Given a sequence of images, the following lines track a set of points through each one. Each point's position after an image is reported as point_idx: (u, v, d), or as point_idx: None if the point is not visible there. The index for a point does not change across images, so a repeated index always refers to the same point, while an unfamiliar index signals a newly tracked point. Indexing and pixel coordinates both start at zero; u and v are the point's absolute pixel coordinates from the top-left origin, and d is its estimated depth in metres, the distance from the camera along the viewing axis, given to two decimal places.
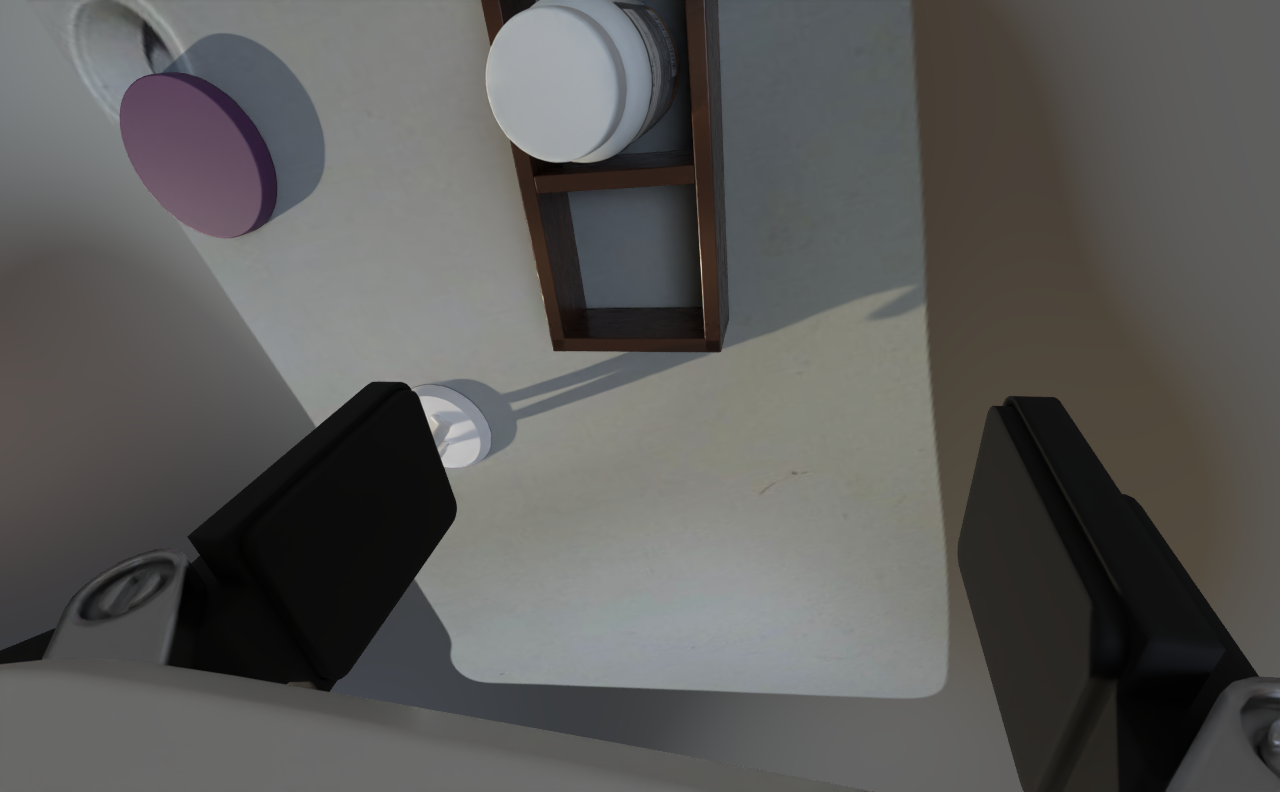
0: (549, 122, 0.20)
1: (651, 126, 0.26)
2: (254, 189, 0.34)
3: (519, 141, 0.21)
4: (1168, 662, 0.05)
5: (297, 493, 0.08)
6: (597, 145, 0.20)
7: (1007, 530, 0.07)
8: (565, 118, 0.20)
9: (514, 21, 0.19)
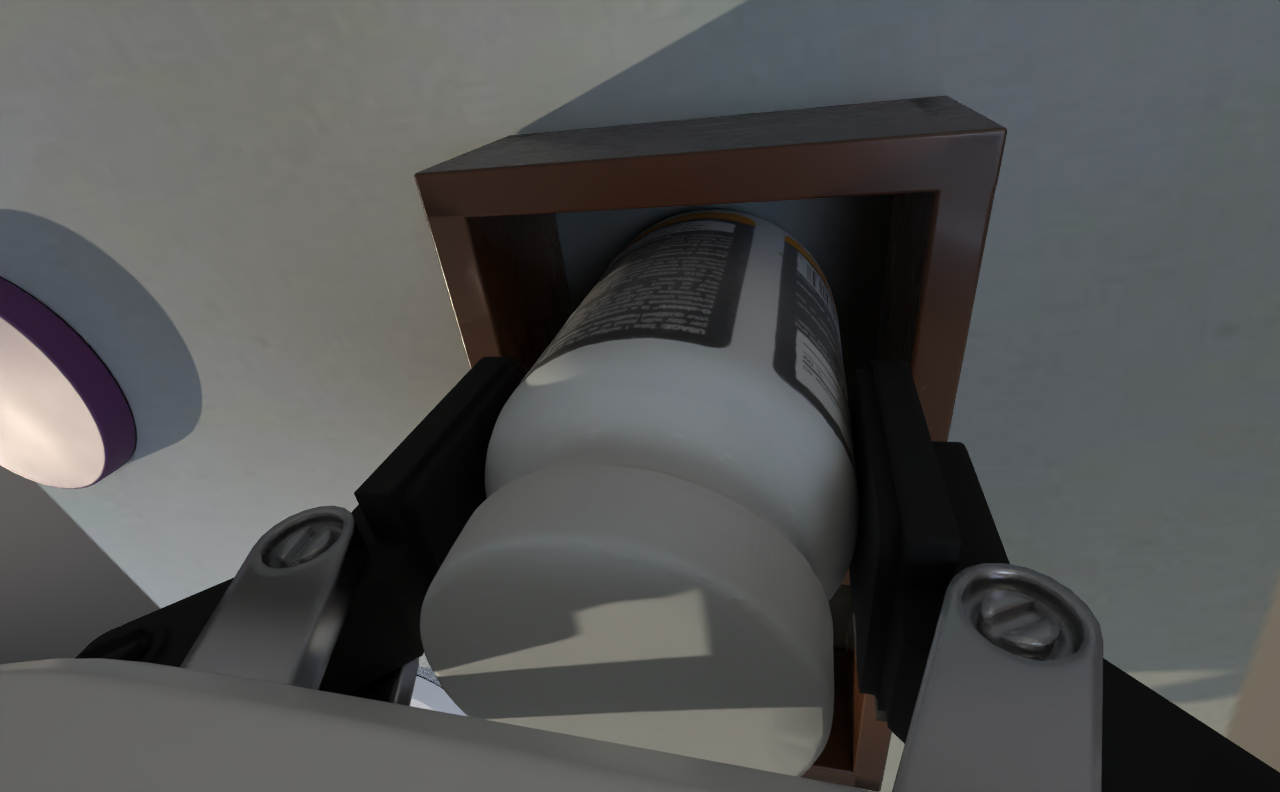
0: (603, 740, 0.07)
1: None
2: (91, 437, 0.21)
3: None
4: (924, 554, 0.06)
5: (443, 456, 0.08)
6: None
7: (858, 473, 0.08)
8: (655, 746, 0.07)
9: (502, 555, 0.06)
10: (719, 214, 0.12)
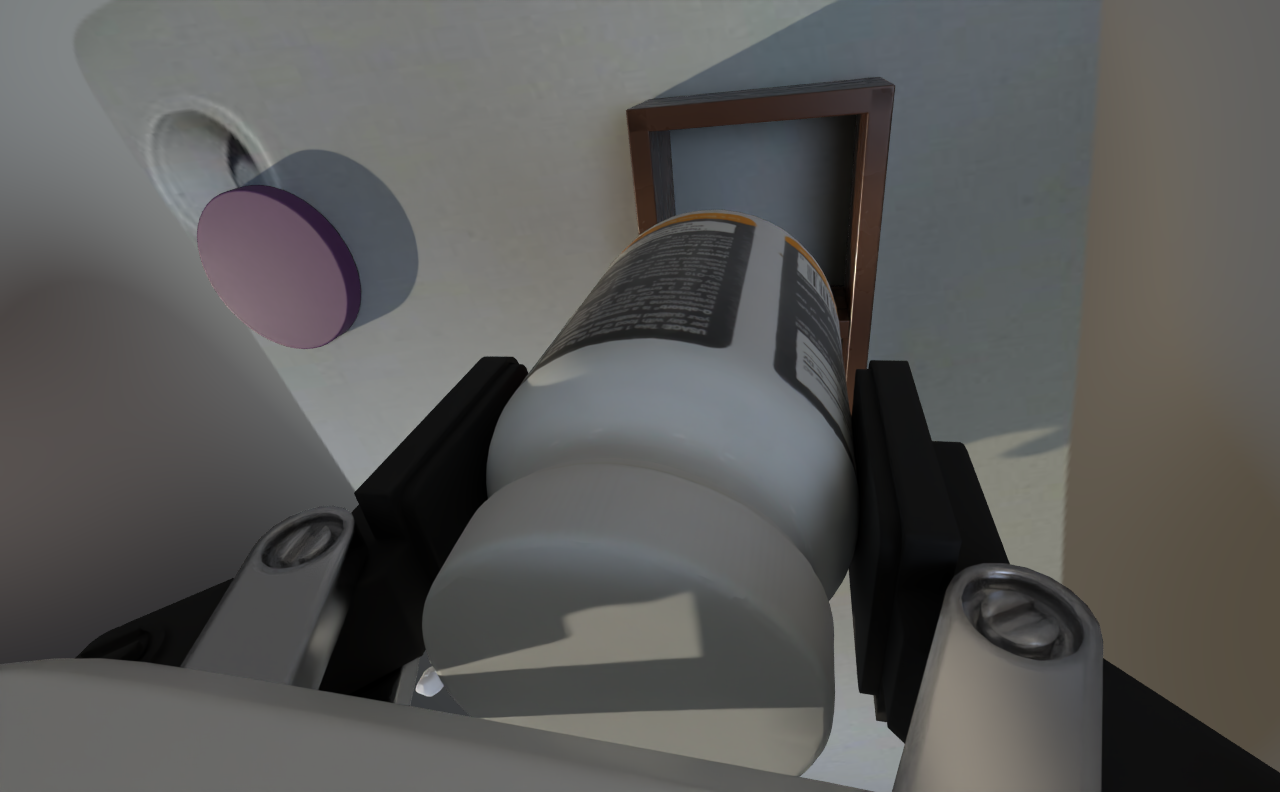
0: (605, 739, 0.07)
1: None
2: (339, 304, 0.32)
3: None
4: (924, 554, 0.06)
5: (442, 455, 0.08)
6: None
7: (858, 473, 0.08)
8: (656, 744, 0.07)
9: (504, 554, 0.06)
10: (720, 214, 0.12)
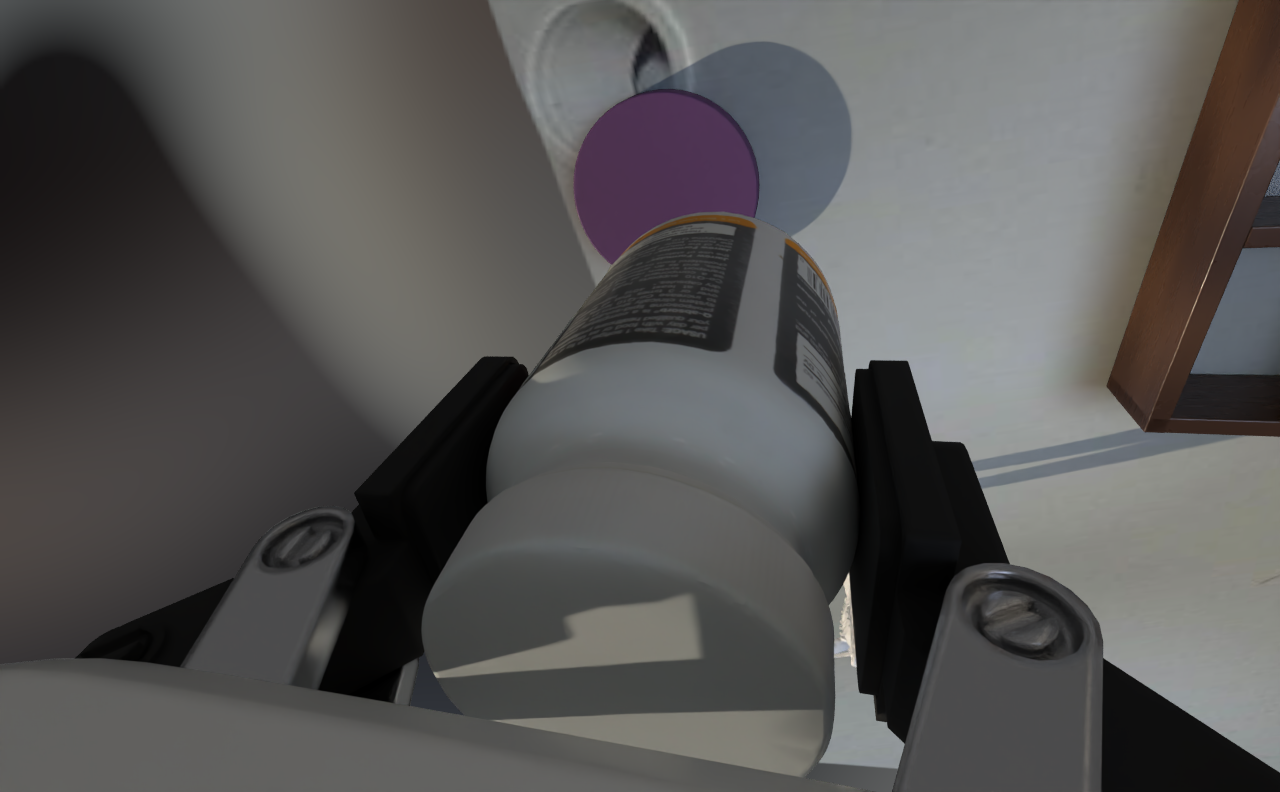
0: None
1: None
2: None
3: None
4: (924, 554, 0.06)
5: (443, 456, 0.08)
6: None
7: (858, 473, 0.08)
8: (656, 749, 0.07)
9: (504, 560, 0.06)
10: (719, 216, 0.12)
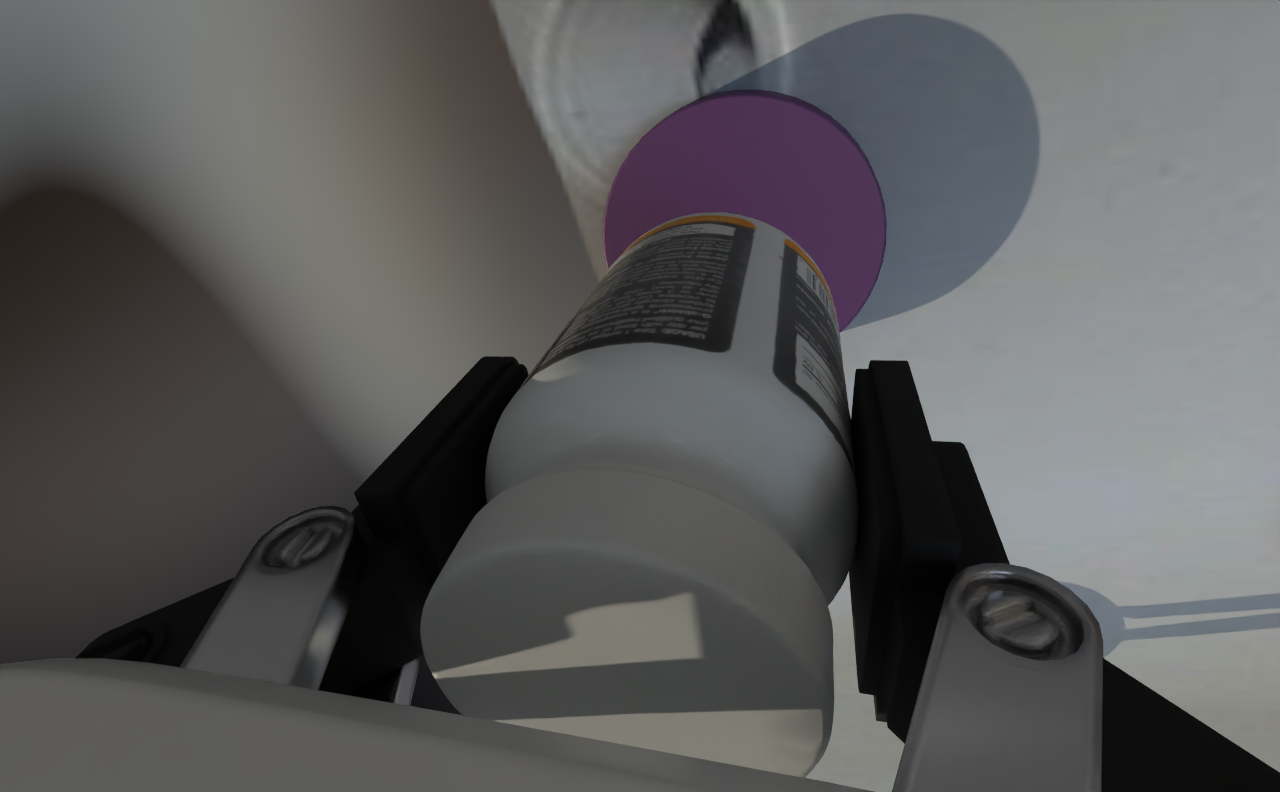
0: None
1: None
2: (850, 299, 0.19)
3: None
4: (924, 554, 0.06)
5: (442, 456, 0.08)
6: None
7: (858, 472, 0.08)
8: None
9: (503, 561, 0.06)
10: (719, 217, 0.12)
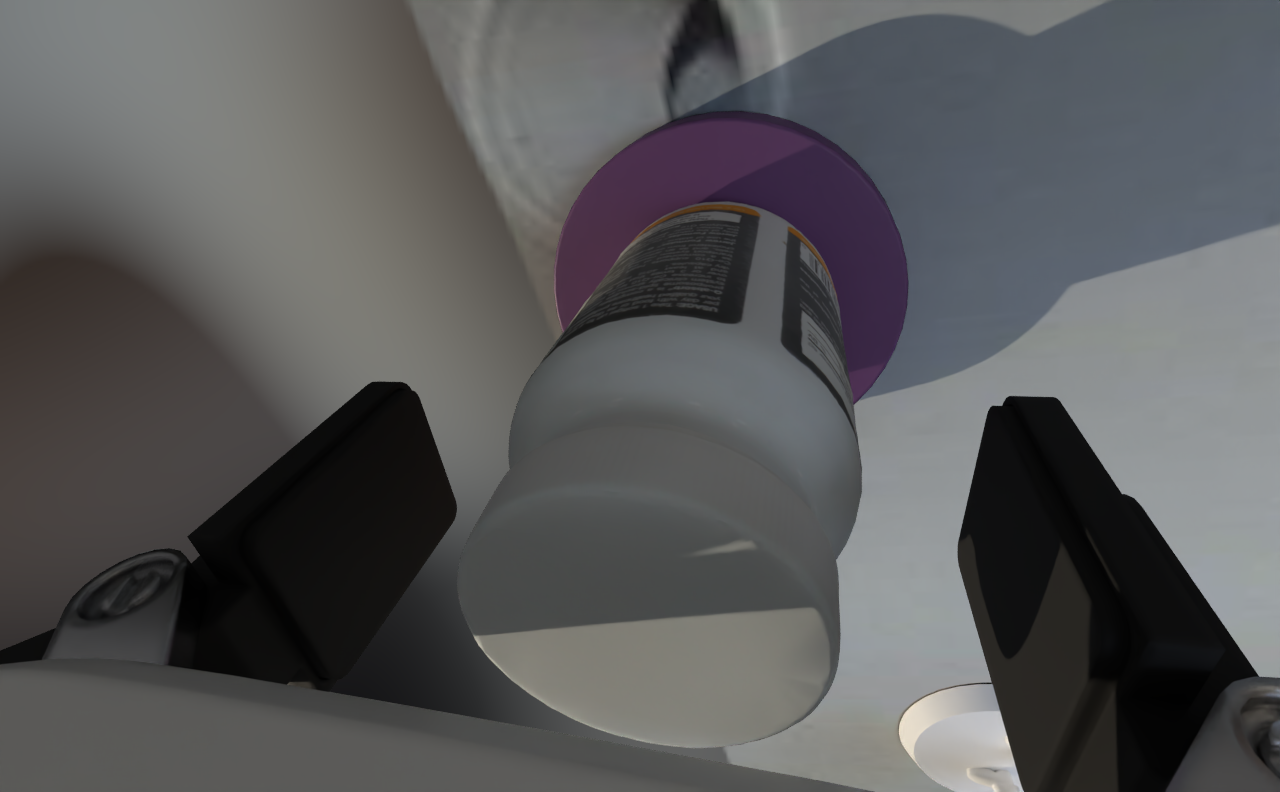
0: (626, 686, 0.08)
1: None
2: (861, 370, 0.15)
3: (545, 698, 0.08)
4: (1168, 662, 0.05)
5: (297, 493, 0.08)
6: None
7: (1007, 530, 0.07)
8: (674, 690, 0.07)
9: (538, 505, 0.06)
10: (725, 206, 0.13)
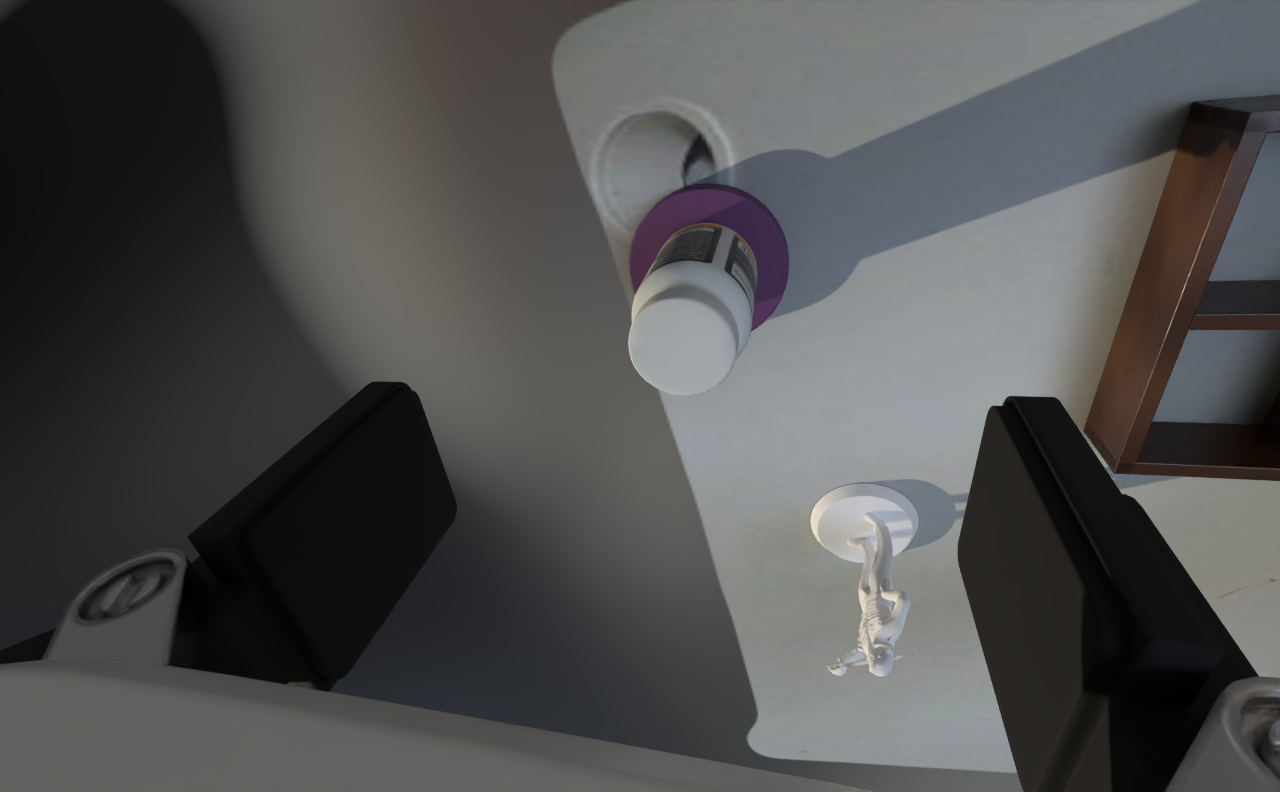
0: (677, 370, 0.26)
1: None
2: (771, 299, 0.33)
3: (650, 380, 0.26)
4: (1169, 662, 0.05)
5: (297, 493, 0.08)
6: (714, 387, 0.26)
7: (1007, 530, 0.07)
8: (691, 368, 0.26)
9: (658, 305, 0.24)
10: (708, 224, 0.31)
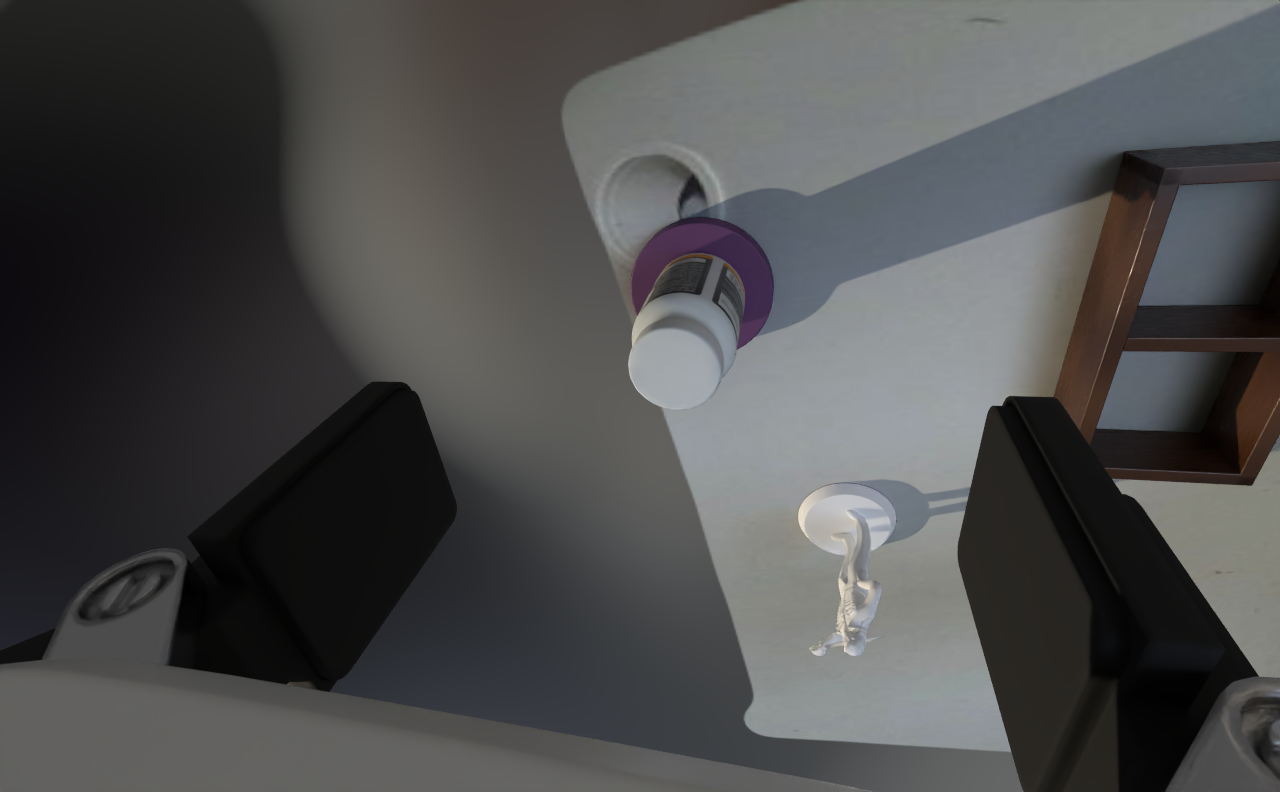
0: (670, 388, 0.30)
1: None
2: (758, 319, 0.37)
3: (648, 396, 0.30)
4: (1168, 662, 0.05)
5: (296, 493, 0.08)
6: (703, 402, 0.30)
7: (1007, 530, 0.07)
8: (683, 387, 0.29)
9: (653, 333, 0.28)
10: (700, 255, 0.35)
